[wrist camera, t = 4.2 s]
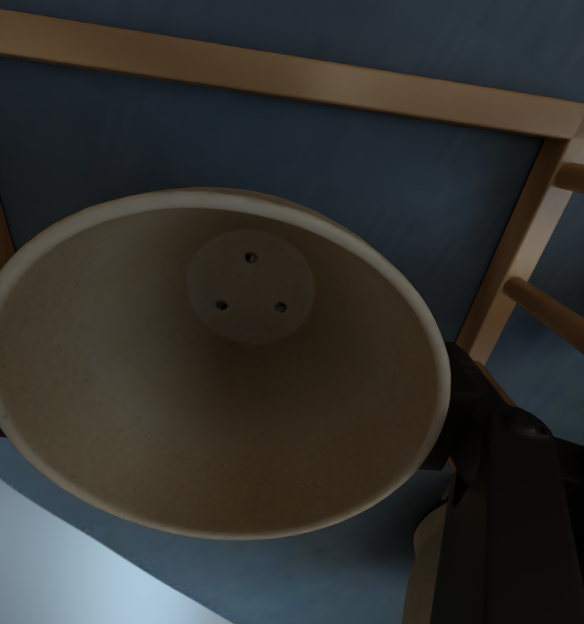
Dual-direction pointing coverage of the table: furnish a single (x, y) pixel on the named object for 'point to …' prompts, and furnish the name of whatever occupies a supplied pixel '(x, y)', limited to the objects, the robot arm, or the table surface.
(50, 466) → the flower pot
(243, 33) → the table surface
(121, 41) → the rack
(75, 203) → the table surface
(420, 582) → the planter bowl
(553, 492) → the robot arm
